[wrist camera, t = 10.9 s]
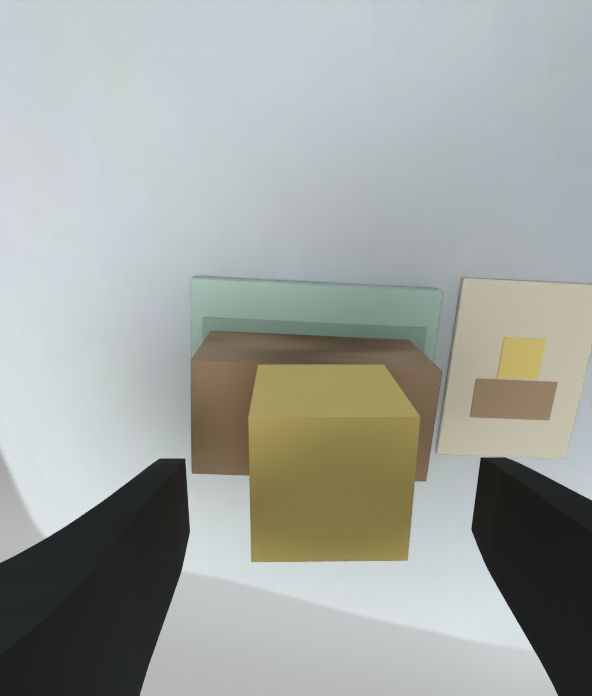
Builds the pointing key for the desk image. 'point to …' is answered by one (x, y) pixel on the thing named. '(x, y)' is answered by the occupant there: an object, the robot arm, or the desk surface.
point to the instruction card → (516, 368)
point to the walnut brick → (289, 349)
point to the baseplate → (314, 310)
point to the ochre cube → (330, 464)
